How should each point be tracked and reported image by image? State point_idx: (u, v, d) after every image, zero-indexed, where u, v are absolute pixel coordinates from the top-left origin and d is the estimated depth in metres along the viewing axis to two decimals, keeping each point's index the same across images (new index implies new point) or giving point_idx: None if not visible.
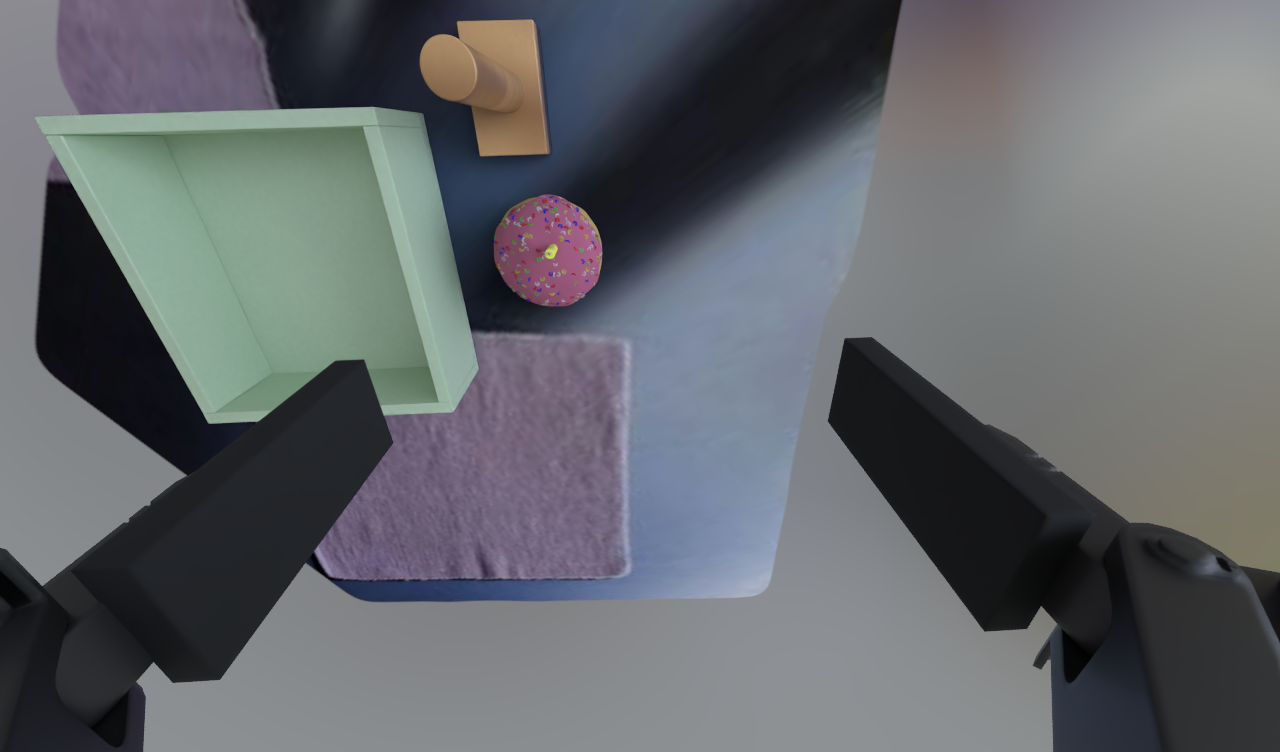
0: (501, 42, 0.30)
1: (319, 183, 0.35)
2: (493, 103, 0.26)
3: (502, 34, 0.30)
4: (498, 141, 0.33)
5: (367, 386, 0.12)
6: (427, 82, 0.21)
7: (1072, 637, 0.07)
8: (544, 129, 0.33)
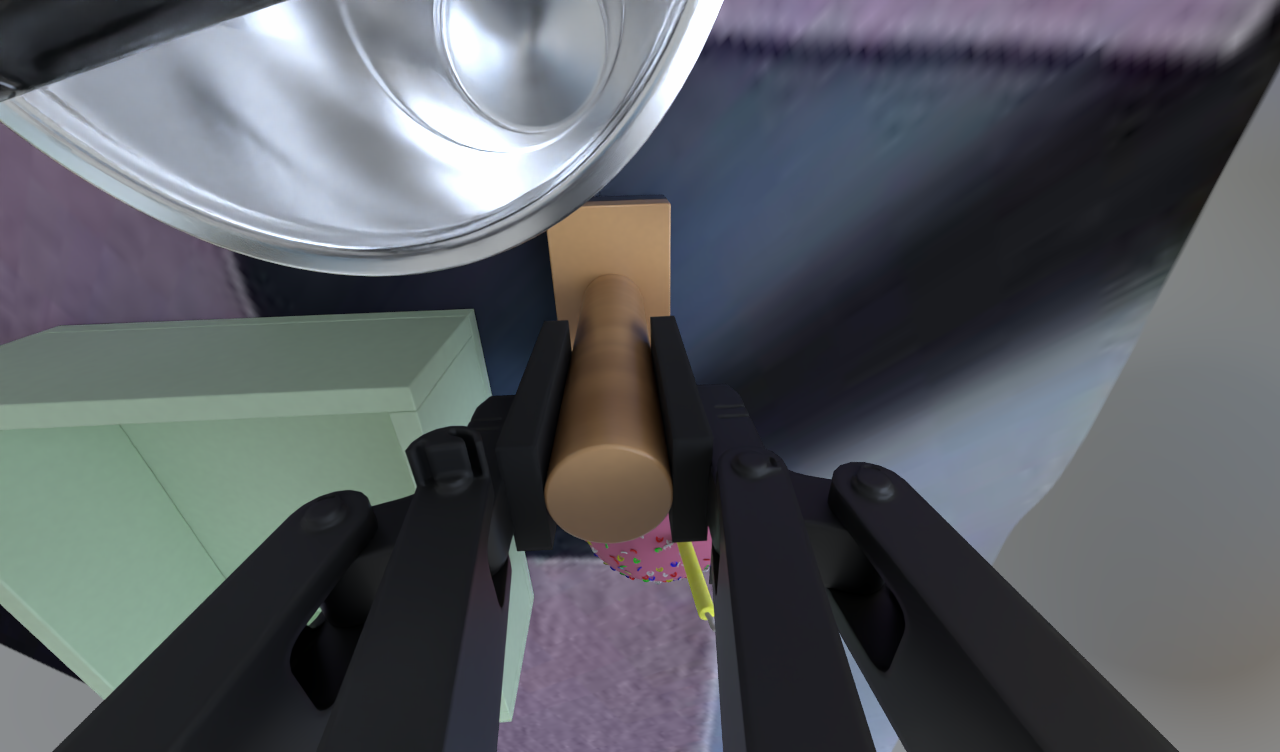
0: (615, 236, 0.18)
1: None
2: None
3: (618, 225, 0.18)
4: None
5: (569, 343, 0.14)
6: (557, 521, 0.09)
7: (718, 552, 0.09)
8: None
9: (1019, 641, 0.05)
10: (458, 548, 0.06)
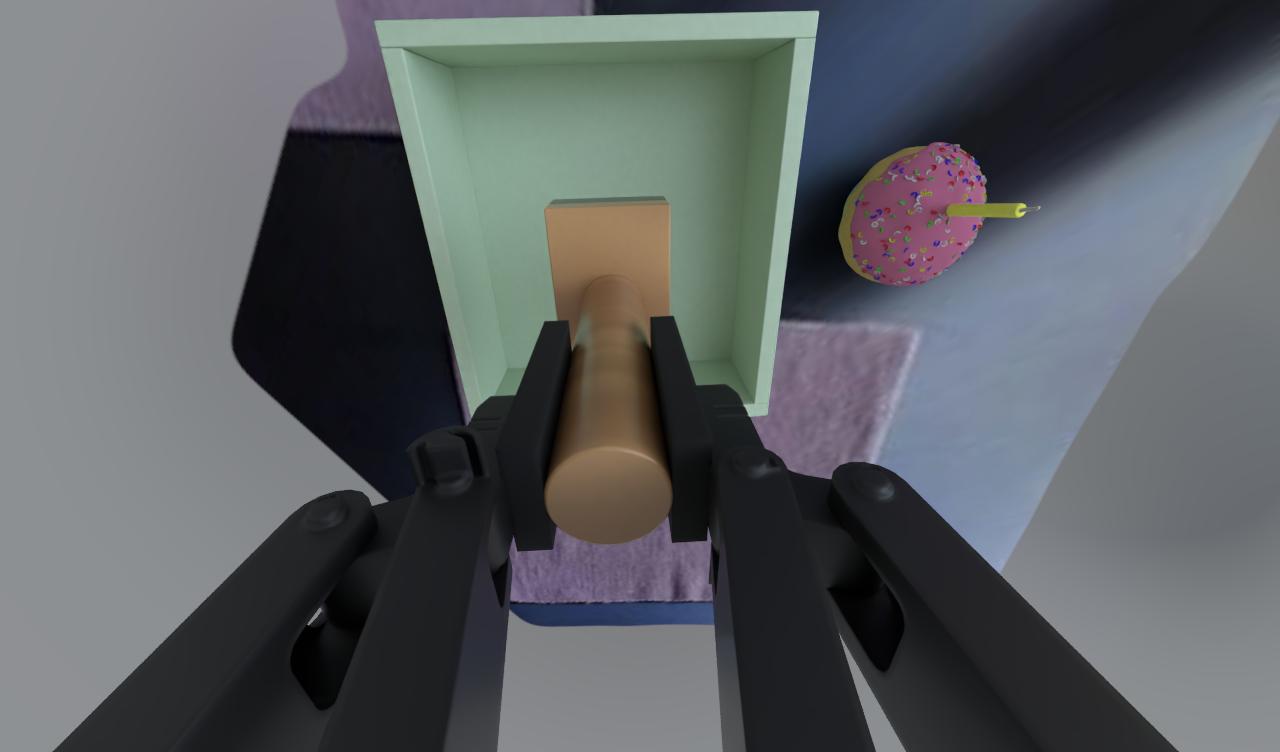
0: (615, 237, 0.18)
1: (626, 132, 0.29)
2: None
3: (618, 226, 0.18)
4: None
5: (570, 343, 0.14)
6: (557, 522, 0.09)
7: (718, 552, 0.09)
8: None
9: (1020, 641, 0.05)
10: (458, 548, 0.06)
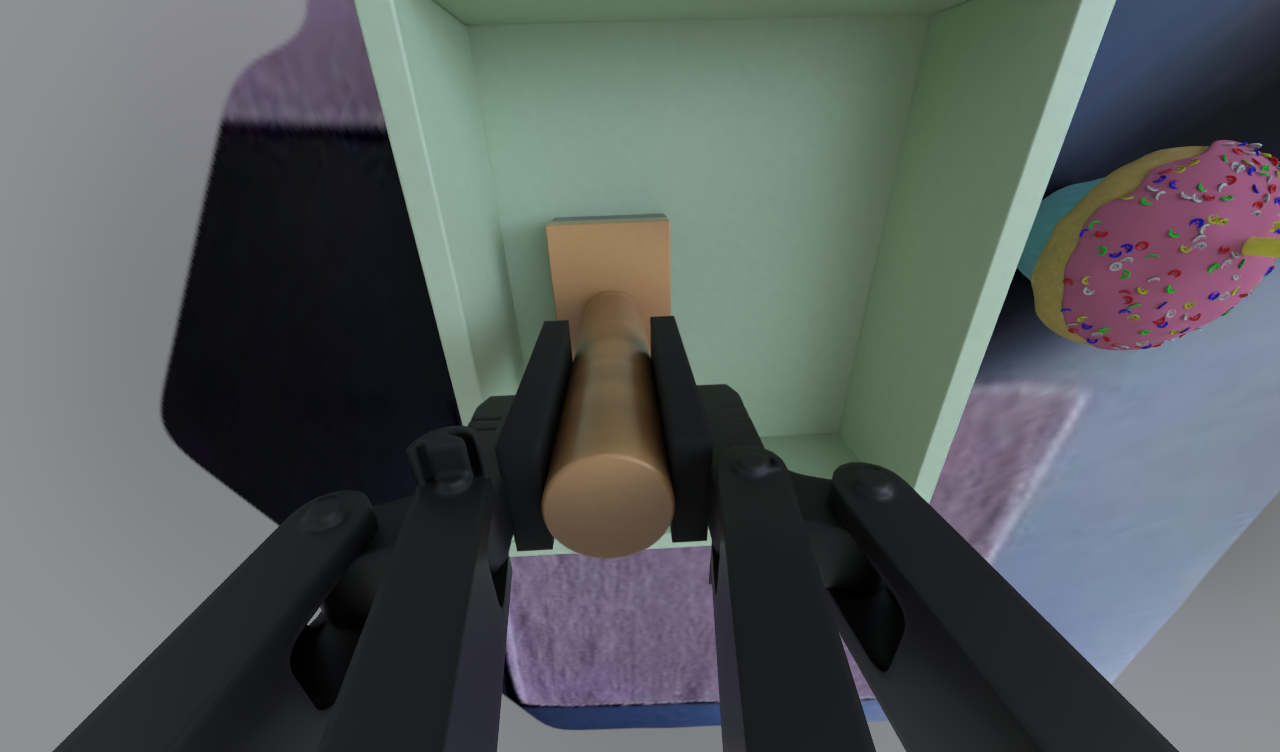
0: (616, 253, 0.18)
1: (726, 126, 0.19)
2: None
3: (618, 242, 0.18)
4: None
5: (569, 343, 0.14)
6: (555, 534, 0.09)
7: (718, 552, 0.09)
8: None
9: (1020, 641, 0.05)
10: (458, 548, 0.06)
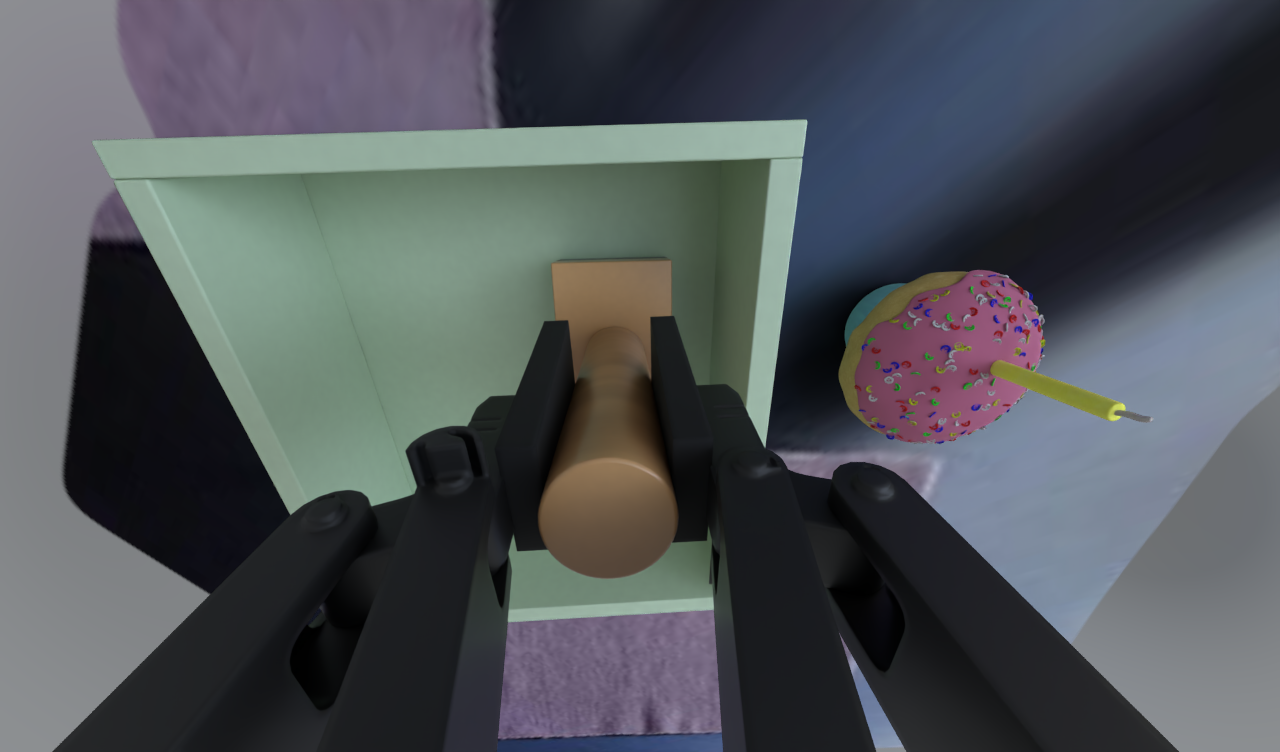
0: (618, 290, 0.19)
1: (550, 243, 0.21)
2: None
3: (621, 280, 0.19)
4: None
5: (569, 343, 0.14)
6: (551, 549, 0.08)
7: (718, 552, 0.09)
8: None
9: (1020, 640, 0.05)
10: (458, 548, 0.06)
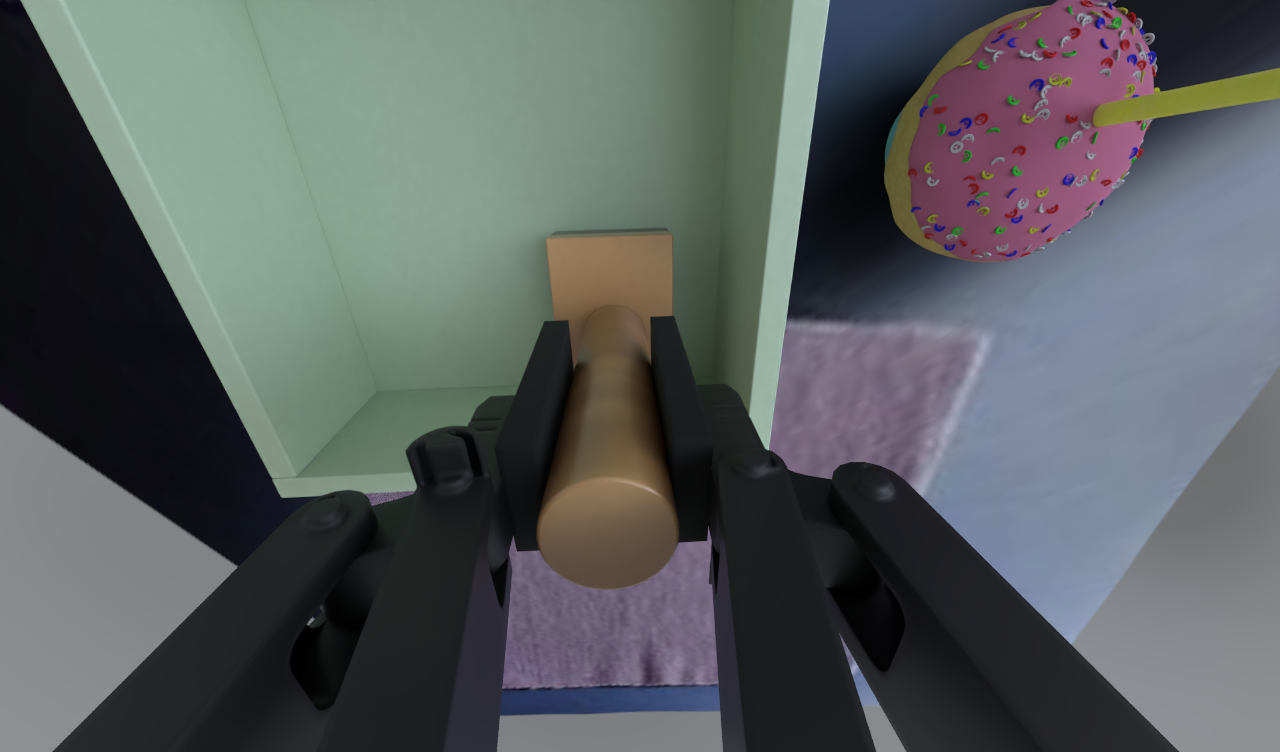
0: (617, 267, 0.18)
1: None
2: None
3: (620, 256, 0.18)
4: None
5: (569, 343, 0.14)
6: (550, 564, 0.08)
7: (718, 552, 0.09)
8: None
9: (1019, 641, 0.05)
10: (458, 548, 0.06)
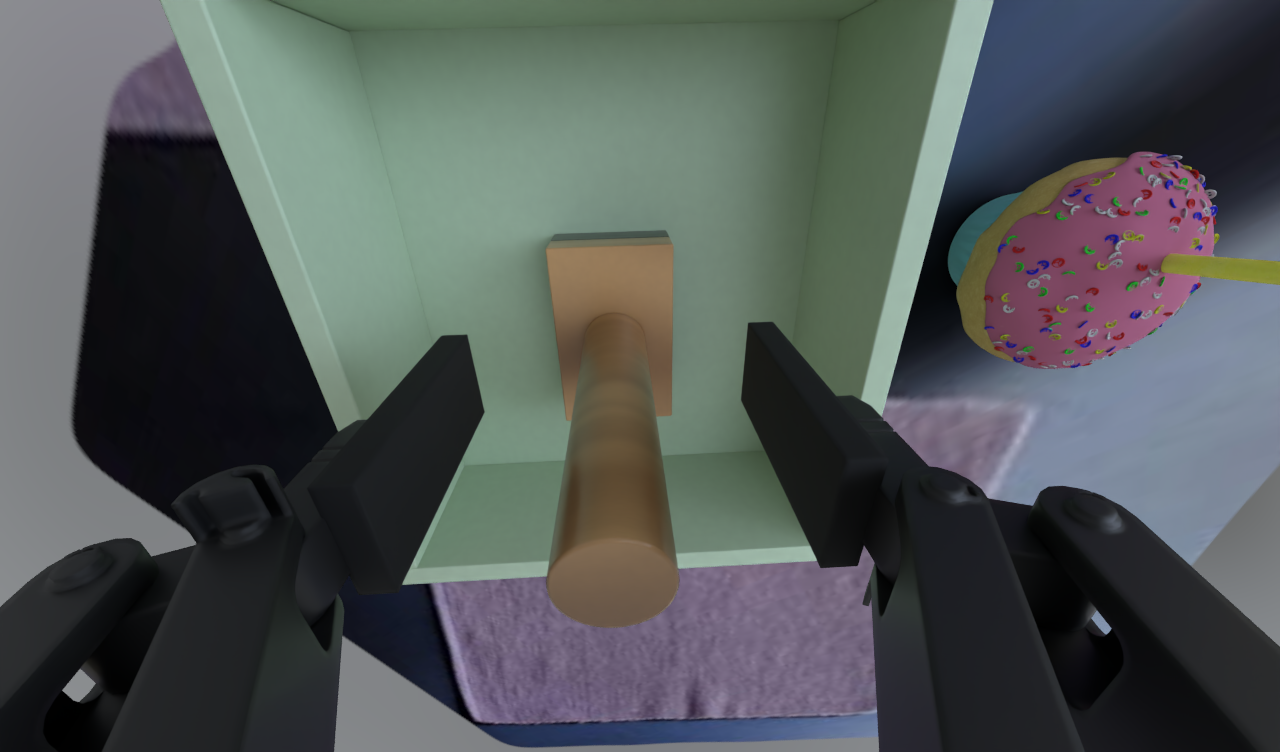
0: (617, 276, 0.18)
1: (633, 136, 0.18)
2: None
3: (620, 265, 0.18)
4: None
5: (469, 359, 0.13)
6: (560, 608, 0.09)
7: (883, 573, 0.08)
8: (671, 385, 0.21)
9: None
10: (251, 597, 0.06)
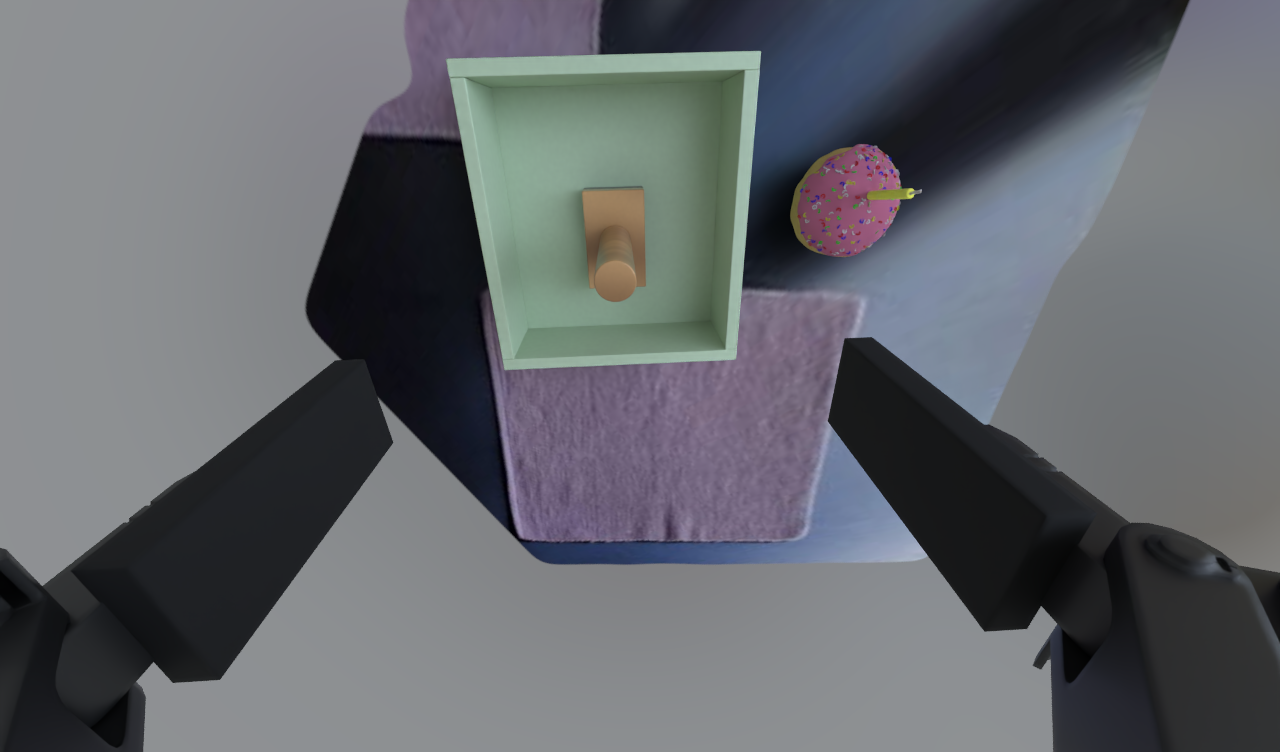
0: (616, 206, 0.36)
1: (624, 136, 0.37)
2: None
3: (618, 200, 0.36)
4: None
5: (367, 386, 0.12)
6: (598, 290, 0.27)
7: (1071, 637, 0.07)
8: (645, 268, 0.39)
9: None
10: None
